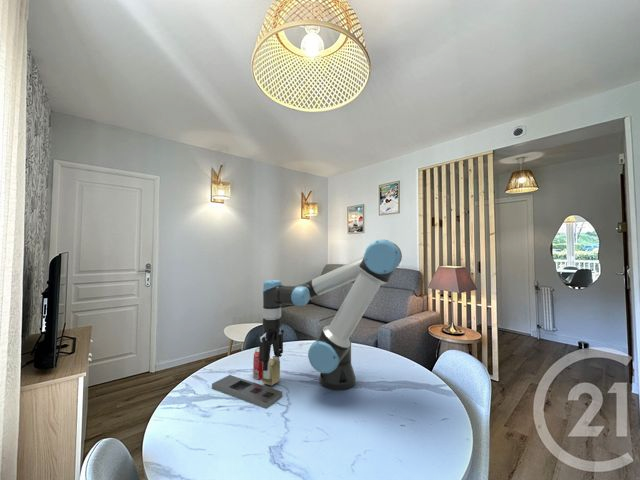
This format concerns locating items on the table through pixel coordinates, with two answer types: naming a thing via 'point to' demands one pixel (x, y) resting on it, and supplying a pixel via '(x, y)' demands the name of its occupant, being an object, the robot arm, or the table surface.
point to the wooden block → (272, 372)
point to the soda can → (257, 365)
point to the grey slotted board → (247, 391)
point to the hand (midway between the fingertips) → (271, 375)
